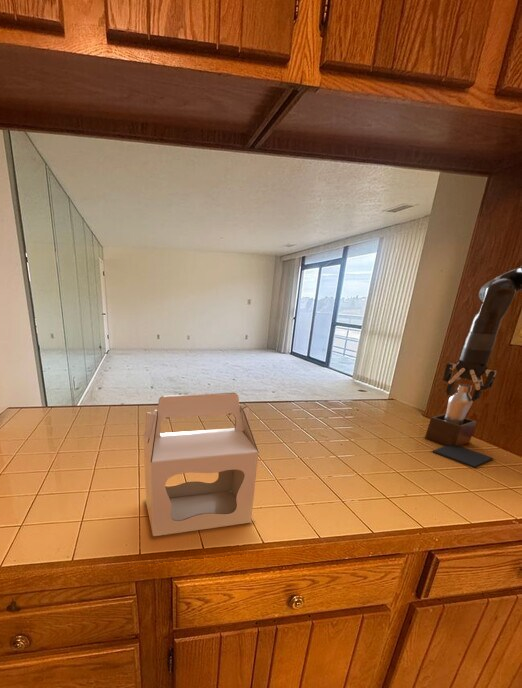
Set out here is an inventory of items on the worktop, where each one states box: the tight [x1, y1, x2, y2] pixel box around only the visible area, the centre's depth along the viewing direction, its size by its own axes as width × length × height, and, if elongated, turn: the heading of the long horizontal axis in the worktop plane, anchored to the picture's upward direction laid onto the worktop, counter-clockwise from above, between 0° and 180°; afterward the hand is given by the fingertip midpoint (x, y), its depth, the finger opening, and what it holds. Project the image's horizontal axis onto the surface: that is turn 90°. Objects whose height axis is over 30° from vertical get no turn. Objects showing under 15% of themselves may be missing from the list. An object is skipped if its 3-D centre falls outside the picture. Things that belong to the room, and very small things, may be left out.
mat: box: [432, 445, 494, 469], centre depth 111 cm, size 12×12×1 cm
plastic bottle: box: [444, 383, 474, 425], centre depth 118 cm, size 6×7×20 cm
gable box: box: [142, 392, 259, 537], centre depth 74 cm, size 22×13×28 cm, turn 104°
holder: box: [424, 412, 478, 447], centre depth 121 cm, size 11×10×8 cm
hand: (461, 397), depth 116 cm, fingers open, 7 cm apart
